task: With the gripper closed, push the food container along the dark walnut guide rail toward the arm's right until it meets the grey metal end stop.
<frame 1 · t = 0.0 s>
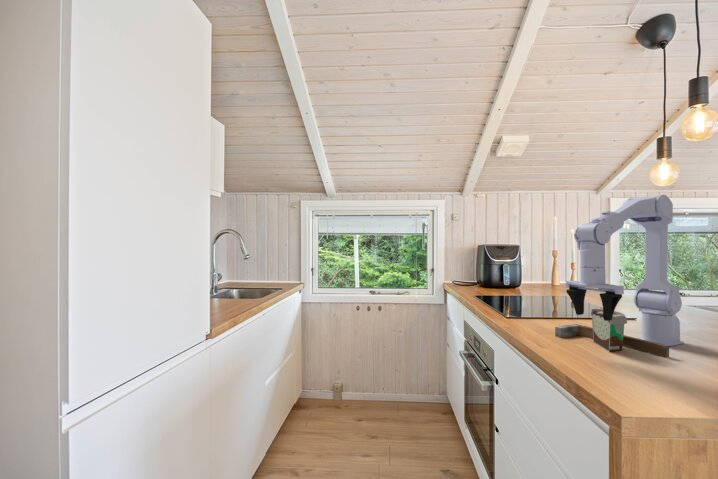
hand: (593, 317, 93), 10 cm above the worktop, tool pointing down, fingers open, 7 cm apart
guide rail: (615, 343, 103), on the worktop
food container: (612, 348, 99), on the worktop
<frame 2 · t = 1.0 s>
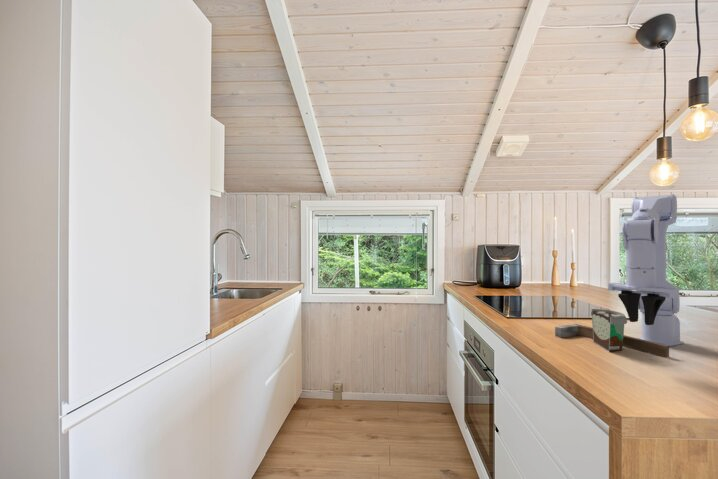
hand: (641, 323, 85), 10 cm above the worktop, tool pointing down, fingers open, 3 cm apart
nothing on the worktop moved.
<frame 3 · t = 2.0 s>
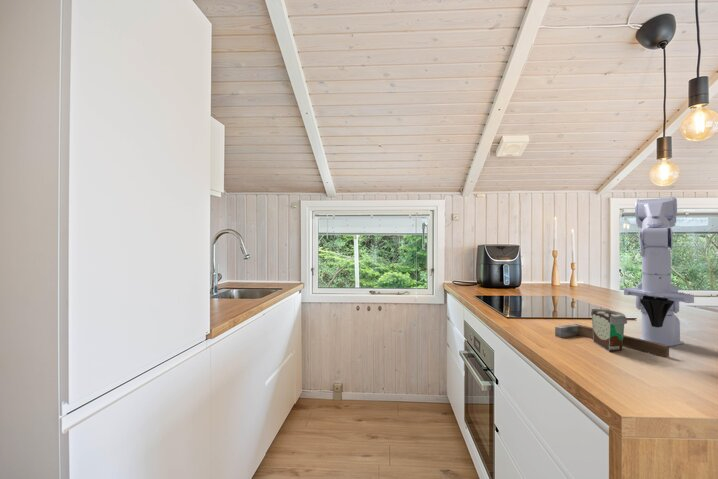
hand: (656, 326, 89), 9 cm above the worktop, tool pointing down, fingers closed
nothing on the worktop moved.
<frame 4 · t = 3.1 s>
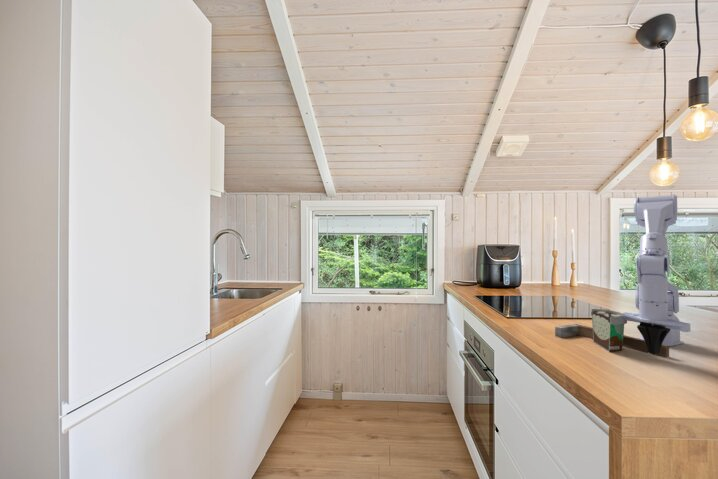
hand: (653, 353, 90), 1 cm above the worktop, tool pointing down, fingers closed
nothing on the worktop moved.
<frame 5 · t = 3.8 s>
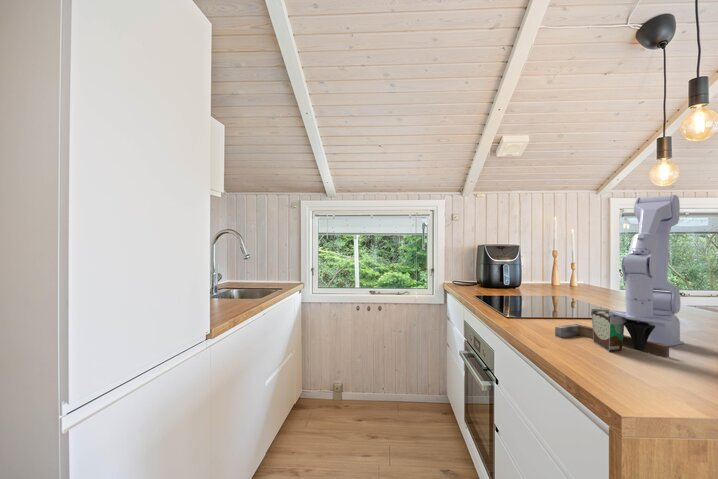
hand: (639, 349, 93), 1 cm above the worktop, tool pointing down, fingers closed
food container: (612, 348, 99), on the worktop, touching gripper
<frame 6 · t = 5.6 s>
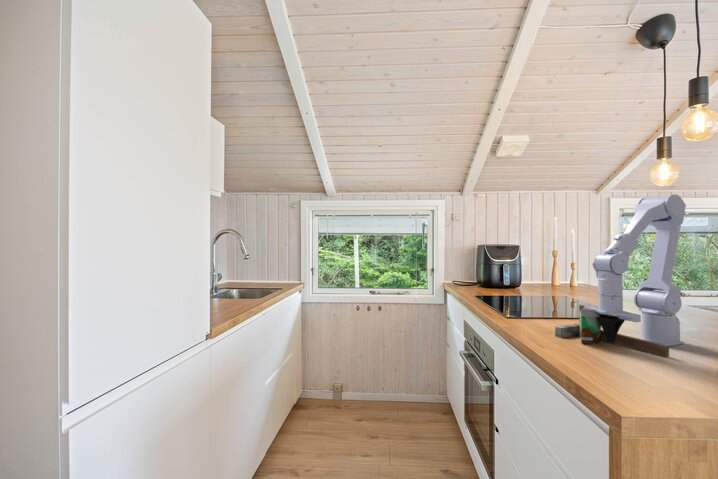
hand: (610, 342, 100), 1 cm above the worktop, tool pointing down, fingers closed
food container: (592, 341, 105), on the worktop, touching gripper, guide rail
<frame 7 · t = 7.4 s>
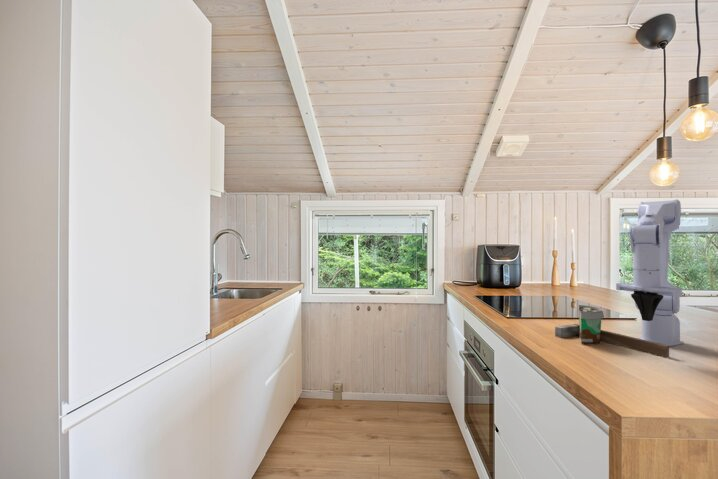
hand: (647, 320, 92), 9 cm above the worktop, tool pointing down, fingers closed
food container: (592, 342, 105), on the worktop
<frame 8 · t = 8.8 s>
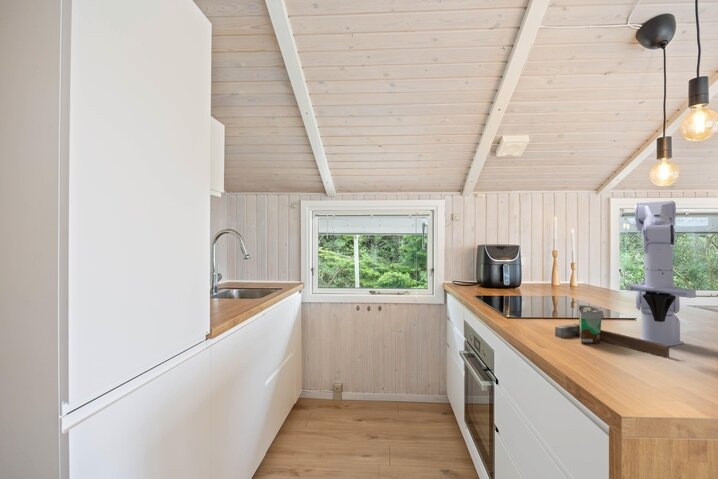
hand: (659, 321, 91), 9 cm above the worktop, tool pointing down, fingers closed
nothing on the worktop moved.
at the end: food container 0.9 cm from the target spot, on the worktop; food container tilted 0°; food container moved 6.5 cm from its start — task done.
